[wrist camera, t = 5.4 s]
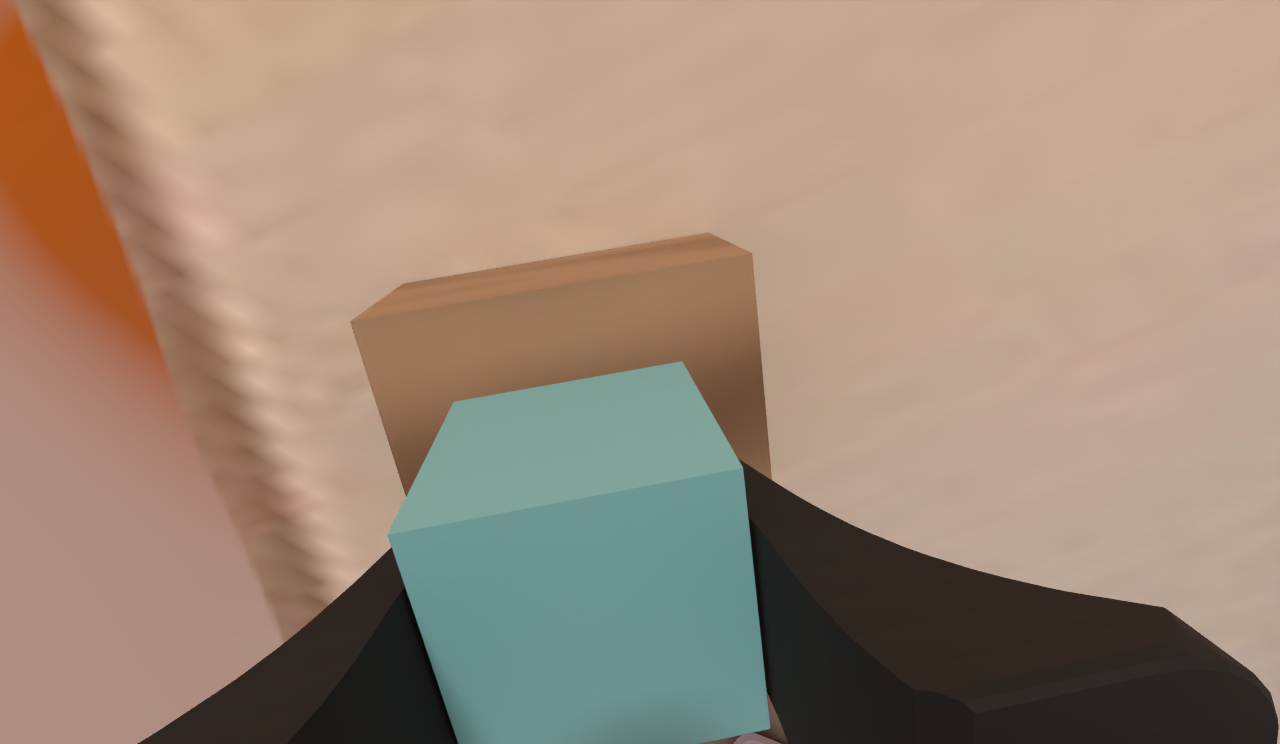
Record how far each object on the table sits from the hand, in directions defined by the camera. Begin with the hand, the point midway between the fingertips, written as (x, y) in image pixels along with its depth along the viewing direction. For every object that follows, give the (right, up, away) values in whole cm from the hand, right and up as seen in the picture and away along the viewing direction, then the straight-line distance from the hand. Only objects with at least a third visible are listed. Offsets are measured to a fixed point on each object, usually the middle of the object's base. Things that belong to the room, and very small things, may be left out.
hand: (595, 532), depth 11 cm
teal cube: (0, +1, +1) cm, 2 cm away
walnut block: (-1, +2, +6) cm, 7 cm away
